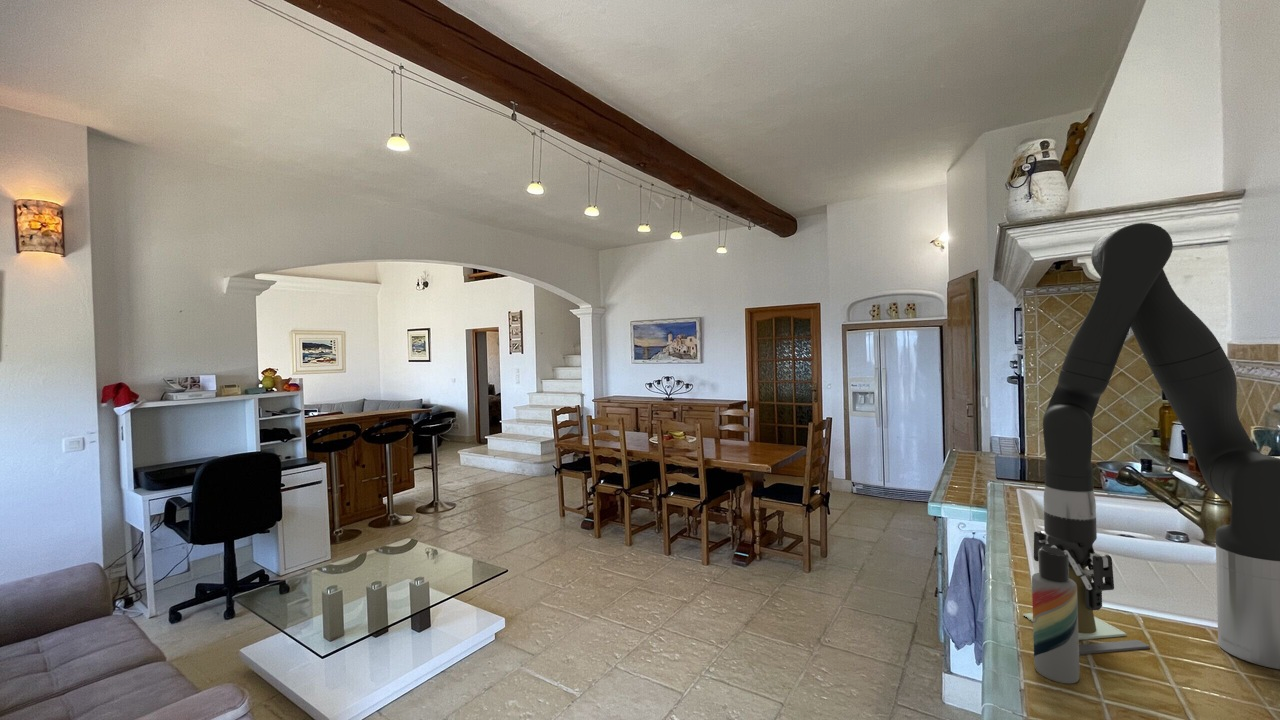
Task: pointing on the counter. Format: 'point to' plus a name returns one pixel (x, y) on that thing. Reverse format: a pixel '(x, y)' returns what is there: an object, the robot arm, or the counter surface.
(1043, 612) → the lotion bottle
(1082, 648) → the charcoal line
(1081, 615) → the cork
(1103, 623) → the mat
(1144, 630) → the counter surface
